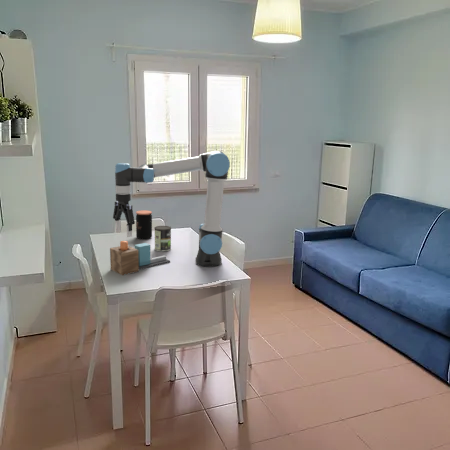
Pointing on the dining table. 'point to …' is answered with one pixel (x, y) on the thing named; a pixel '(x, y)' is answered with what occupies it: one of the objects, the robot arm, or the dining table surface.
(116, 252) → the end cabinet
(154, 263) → the rail
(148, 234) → the coffee jar
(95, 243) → the dining table surface
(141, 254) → the block
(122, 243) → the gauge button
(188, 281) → the dining table surface
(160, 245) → the coffee can
